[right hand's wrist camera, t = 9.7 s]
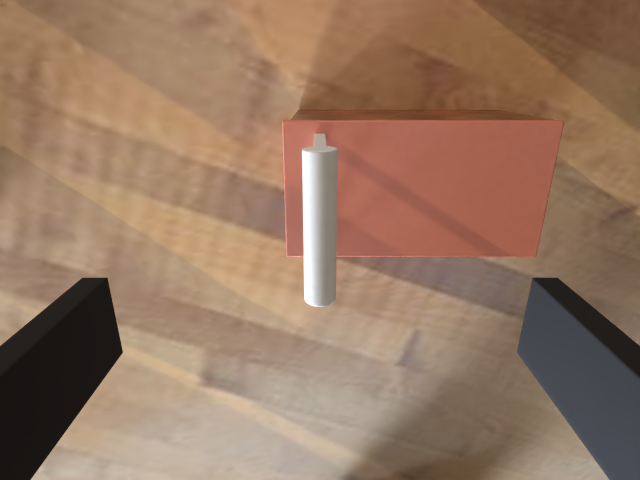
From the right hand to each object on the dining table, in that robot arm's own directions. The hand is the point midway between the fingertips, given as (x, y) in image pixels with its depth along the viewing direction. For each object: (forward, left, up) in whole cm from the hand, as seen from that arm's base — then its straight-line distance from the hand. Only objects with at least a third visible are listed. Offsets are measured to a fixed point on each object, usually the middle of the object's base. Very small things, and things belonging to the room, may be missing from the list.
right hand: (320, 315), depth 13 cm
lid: (+4, -5, -16) cm, 17 cm away
